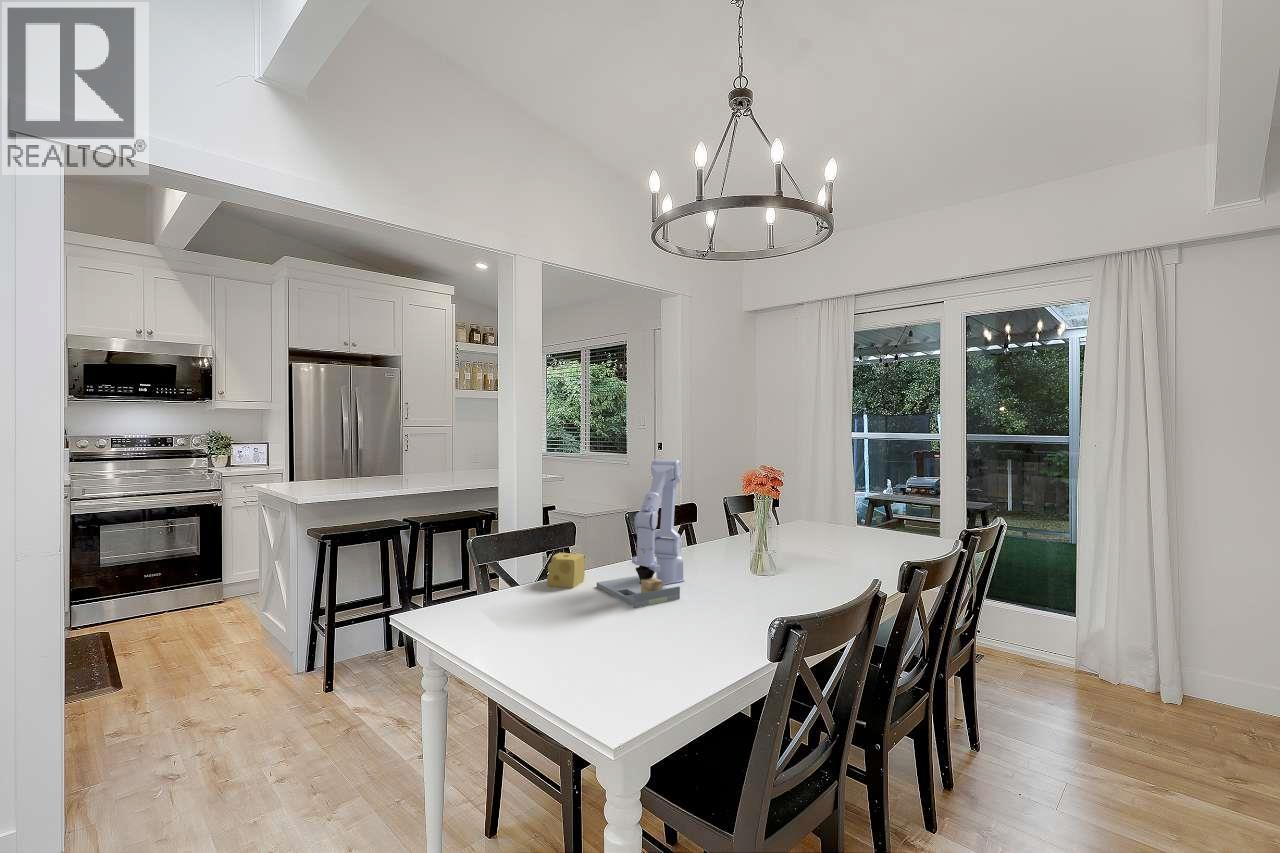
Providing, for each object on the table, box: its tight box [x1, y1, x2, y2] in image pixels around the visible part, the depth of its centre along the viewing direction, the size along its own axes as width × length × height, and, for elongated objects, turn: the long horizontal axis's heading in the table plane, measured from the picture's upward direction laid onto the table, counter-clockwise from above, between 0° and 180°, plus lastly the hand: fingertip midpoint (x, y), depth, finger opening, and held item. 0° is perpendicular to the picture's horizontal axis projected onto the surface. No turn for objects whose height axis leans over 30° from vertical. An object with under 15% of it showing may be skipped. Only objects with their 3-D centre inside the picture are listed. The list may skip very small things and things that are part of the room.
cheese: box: [546, 552, 586, 589], centre depth 210 cm, size 10×11×10 cm
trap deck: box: [596, 575, 681, 608], centre depth 199 cm, size 17×26×4 cm, turn 32°
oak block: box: [641, 576, 663, 593], centre depth 190 cm, size 5×5×5 cm
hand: (645, 589), depth 194 cm, fingers closed
